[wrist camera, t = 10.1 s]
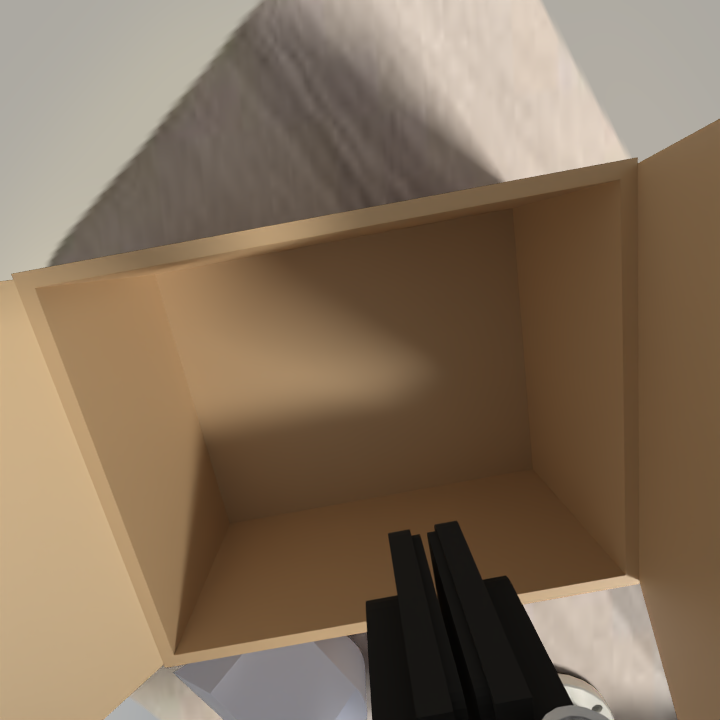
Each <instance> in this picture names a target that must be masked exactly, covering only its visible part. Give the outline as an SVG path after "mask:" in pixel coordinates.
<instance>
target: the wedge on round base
mask: <svg viewBox="0 0 720 720" xmlns="http://www.w3.org/2000/svg"><path fill="white" fill-rule="evenodd" d="M173 673H174V674H175V675H176V676H177V677H178V678H179V679H180V680H182V681H183V682H184V683H185V684H186V685H187V686H188V687H189V688H190V689H191V690H192V691H193V692H194V693H196V694H197V695H198V696H199V697H200V698H201V699H202V700H203V701H204V702H205V703H206V704H207V705H208V706H210V707H211V708H212V709H213V710H214V711H215V712H216V713H217V714H218V715H219V716H220V717H221V718H222V719H224V720H367V696H366V677H365V663H364V659H363V656H362V653H361V651H360V650H359V648H358V647H357V645H356V644H355V643H354V642H353V641H352V640H351V639H350V638H349V637H347V636H342V637H336V638H331V639H325V640H319V641H314V642H308V643H302V644H297V645H291V646H285V647H280V648H274V649H268V650H263V651H257V652H251V653H246V654H240V655H235V656H229V657H223V658H218V659H212V660H206V661H201V662H195V663H189V664H186V665H185V666H183V667H181V668H180V669H178V670H176V671H175V672H173Z"/></svg>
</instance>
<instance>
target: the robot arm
mask: <svg viewBox="0 0 720 720" xmlns="http://www.w3.org/2000/svg"><path fill="white" fill-rule="evenodd" d="M434 529H435V531H433V532H428V533H427V537H428V544H429V549H430V555H431V561H432V567H433V573H434V579H435V585H436V591H437V594H436V591H435V587H434V583H433V580H432V576H431V572H430V569H429V565H428V561H427V558H426V554H425V550H424V546H423V543H422V539H421V536H420V534H417V535H412V536H411V532H410V529H408V530H402V531H397V532H392V533H388V538H389V545H390V551H391V557H392V564H393V570H394V577H395V583H396V589H397V595H396V596H390V597H385V598H379V599H374V600H369V601H366V623H367V640H368V657H369V673H370V690H371V706H372V720H615V719H614V717H613V714H612V712H611V710H610V708H609V707H608V705H607V703H606V702H605V700H604V699H603V697H602V695H601V694H600V693H599V692H598V691H597V690H596V689H595V688H594V687H593V686H591V685H590V684H588V683H586V682H585V681H583V680H581V679H578V678H576V677H573V676H570V675H565V674H559V673H557V671H556V669H555V668H554V666H553V664H552V662H551V660H550V658H549V656H548V654H547V652H546V650H545V648H544V646H543V644H542V642H541V640H540V638H539V636H538V634H537V632H536V630H535V628H534V626H533V624H532V622H531V620H530V618H529V616H528V614H527V612H526V611H525V609H524V607H523V605H522V603H521V601H520V599H519V597H518V595H517V593H516V591H515V589H514V587H513V585H512V583H511V581H510V580H509V578H508V577H507V576H506V575H505V576H500V577H494V578H489V579H483V580H482V577H481V575H480V573H479V570H478V568H477V566H476V563H475V561H474V559H473V556H472V554H471V552H470V549H469V547H468V544H467V542H466V540H465V537H464V535H463V533H462V530H461V528H460V526H459V523H458V521H451V522H446V523H440V524H435V525H434ZM437 597H438V598H437Z"/></svg>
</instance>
